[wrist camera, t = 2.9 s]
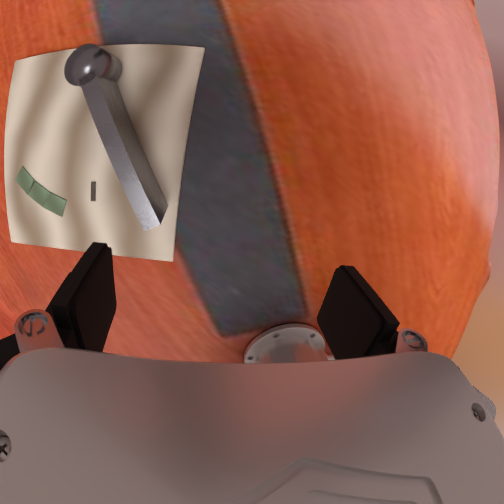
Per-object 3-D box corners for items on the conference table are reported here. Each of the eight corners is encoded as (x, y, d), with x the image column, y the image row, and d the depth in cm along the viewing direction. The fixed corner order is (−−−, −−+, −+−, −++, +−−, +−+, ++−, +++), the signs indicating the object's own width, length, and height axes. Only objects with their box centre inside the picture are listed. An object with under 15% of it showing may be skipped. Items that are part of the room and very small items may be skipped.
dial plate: (204, 51, 21) (204, 47, 19) (174, 255, 30) (172, 262, 29) (22, 62, 16) (14, 60, 14) (17, 236, 25) (10, 242, 24)
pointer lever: (83, 67, 18) (59, 60, 13) (116, 48, 17) (97, 35, 13) (145, 215, 26) (134, 236, 21) (178, 201, 26) (172, 219, 21)
